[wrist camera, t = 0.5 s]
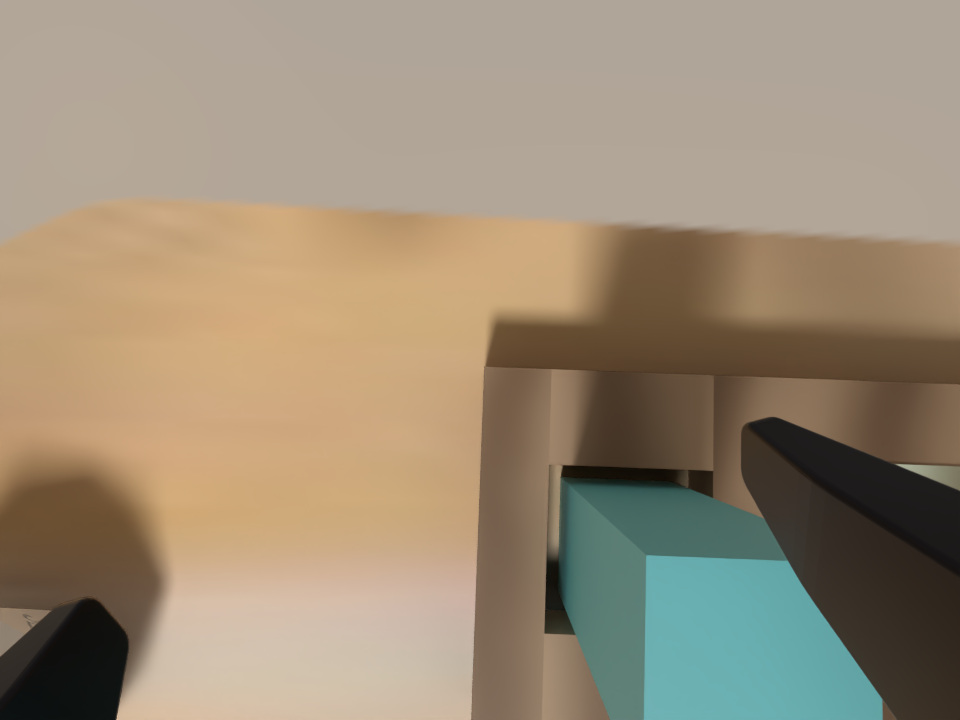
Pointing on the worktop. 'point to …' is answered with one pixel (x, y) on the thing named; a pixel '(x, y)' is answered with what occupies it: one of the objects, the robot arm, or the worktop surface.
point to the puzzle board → (643, 444)
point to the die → (17, 624)
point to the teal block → (696, 611)
